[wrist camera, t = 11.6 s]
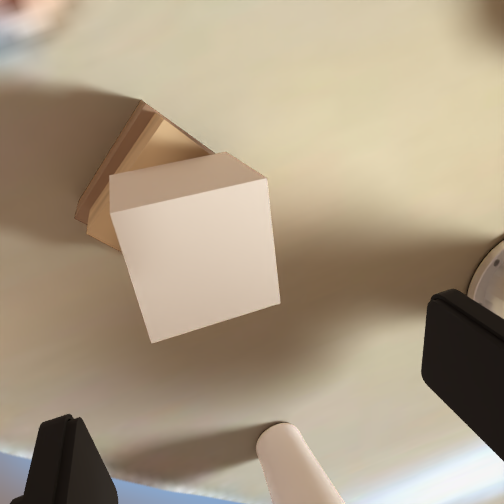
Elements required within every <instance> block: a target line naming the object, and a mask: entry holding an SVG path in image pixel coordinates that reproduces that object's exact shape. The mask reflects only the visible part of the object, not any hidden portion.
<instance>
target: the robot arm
mask: <svg viewBox="0 0 504 504" xmlns="http://www.w3.org/2000/svg"><path fill="white" fill-rule="evenodd" d="M421 374H422V378H423V380H424V381H425V383H426V384H427V385H428V386H429V387H430V388H431V389H432V390H433V391H434V392H435V393H436V394H437V395H438V396H439V397H440V398H441V399H442V400H443V401H444V402H445V403H446V404H447V405H448V406H449V407H450V408H451V409H452V410H453V411H454V412H455V413H456V414H457V415H458V416H459V417H460V418H461V419H462V420H463V421H464V422H465V423H466V424H467V425H468V426H469V427H470V428H471V429H472V430H473V431H474V432H475V433H476V434H477V435H478V436H479V437H480V438H481V439H482V440H483V441H484V442H485V443H486V444H487V445H488V446H489V447H490V448H491V449H492V450H493V451H494V452H495V453H496V454H497V455H498V456H499V457H500V458H501V459H502V460H503V461H504V240H503V241H502V242H500V243H499V244H498V245H497V246H496V247H495V248H494V249H492V250H491V251H490V253H489V254H488V255H487V256H486V257H485V258H484V260H483V261H482V262H481V264H480V265H479V267H478V268H477V270H476V272H475V274H474V276H473V278H472V280H471V283H470V286H469V290H468V294H467V296H466V295H465V294H463V293H461V292H460V291H458V290H456V289H450V290H447V291H444V292H441V293H438V294H435V295H433V296H432V297H431V301H430V302H429V303H428V306H427V315H426V326H425V337H424V347H423V358H422V369H421ZM10 504H118V496H117V491H116V488H115V485H114V483H113V481H112V479H111V477H110V475H109V473H108V471H107V469H106V467H105V465H104V463H103V461H102V459H101V457H100V454H99V452H98V450H97V448H96V446H95V444H94V442H93V440H92V438H91V436H90V434H89V432H88V430H87V428H86V426H85V424H84V422H83V420H82V418H80V417H79V418H76V419H74V418H73V417H72V415H70V414H67V415H64V416H61V417H58V418H55V419H52V420H48V421H45V422H42V424H41V425H40V428H39V431H38V435H37V440H36V444H35V448H34V452H33V457H32V461H31V465H30V470H29V474H28V478H27V482H26V487H25V491H24V495H22V496H20V497H17V498H15V499H13V500H12V502H11V503H10Z"/></svg>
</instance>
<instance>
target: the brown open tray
mask: <svg viewBox="0 0 504 504" xmlns="http://www.w3.org/2000/svg"><path fill="white" fill-rule="evenodd" d="M207 155H211V154H209V153H208V152H207V151H205V150H204V149H203V148H201V147H200V146H199V145H198V144H196V143H195V142H194V141H192V140H191V139H190V138H188V137H187V136H186V135H184V134H183V133H182V132H181V131H179V130H178V129H177V128H175V127H174V126H173V125H171V124H170V123H169V122H167V121H166V120H165V119H163V118H162V117H161V116H160V115H158V114H157V113H156V112H155V114H154V115H153V117H152V118H151V120H150V121H149V123H148V124H147V126H146V127H145V129H144V130H143V132H142V133H141V135H140V136H139V138H138V139H137V141H136V142H135V143H134V145H133V146H132V148H131V149H130V151H129V152H128V154H127V155H126V157H125V158H124V160H123V161H122V163H121V164H120V166H119V167H118V169H117V170H116V172H115V173H114V174H118V173H123V172H128V171H133V170H138V169H143V168H148V167H153V166H158V165H163V164H167V163H172V162H177V161H182V160H187V159H192V158H197V157H202V156H207ZM86 234H88V235H90V236H91V237H93V238H95V239H97V240H99V241H101V242H103V243H105V244H107V245H109V246H111V247H113V248H114V249H116V250H118V251H120V252H122V250H121V247H120V244H119V241H118V238H117V234H116V231H115V228H114V225H113V222H112V219H111V216H110V190H109V182H108V183H107V185H106V186H105V188H104V189H103V191H102V192H101V194H100V195H99V197H98V198H97V200H96V201H95V203H94V204H93V206H92V207H91V209H90V211H89V218H88V225H87V231H86Z"/></svg>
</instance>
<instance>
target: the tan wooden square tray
mask: <svg viewBox="0 0 504 504" xmlns="http://www.w3.org/2000/svg"><path fill="white" fill-rule="evenodd" d="M155 112H156V113H157V114H158V115H160V116H161V117H162V118H163V119H165V120H166V121H167V122H169V123H170V124H171V125H173V126H174V127H175V128H177V129H178V130H179V131H181V132H182V133H183V134H184V135H186V136H187V137H188V138H190V139H191V140H192V141H194V142H195V143H196V144H198V145H199V146H200V147H201V148H203V149H204V150H205V151H207V152H208V153H209V154H211V155H212V154H215V153H214V152H213V151H211V150H210V149H208V148H207V147H206V146H204V145H203V144H202V143H200V142H199V141H197V140H196V139H195V138H193V137H192V136H190V135H189V134H188V133H186V132H185V131H184V130H182V129H181V128H179V127H178V126H177V125H175V124H174V123H172V122H171V121H170V120H168V119H167V118H166V117H164V116H163V115H161V114H160V113H159V112H157V111H156V110H154V109H153V108H152V107H150V106H149V105H148V104H146V103H145V102H143V101H142V100H141V101H140V103H139V104H138V106H137V107H136V109H135V111H134V112H133V114H132V116H131V117H130V119H129V120H128V122H127V124H126V125H125V127H124V128H123V130H122V132H121V133H120V135H119V137H118V138H117V140H116V141H115V143H114V145H113V146H112V148H111V149H110V151H109V153H108V154H107V156H106V157H105V159H104V161H103V162H102V164H101V166H100V167H99V169H98V170H97V172H96V174H95V175H94V177H93V178H92V180H91V182H90V183H89V185H88V187H87V188H86V190H85V191H84V193H83V195H82V196H81V198H80V199H79V202H78V206H77V210H76V214H75V219H77V220H79V221H81V222H83V223H85V224H87V225H88V218H89V211H90V209H91V207H92V206H93V204H94V203H95V201H96V200H97V198H98V197H99V195H100V194H101V192H102V191H103V189H104V188H105V186H106V185H107V183H108V182H109V175H113V174H114V173H115V172H116V170H117V169H118V167H119V166H120V164H121V163H122V161H123V160H124V158H125V157H126V155H127V154H128V152H129V151H130V149H131V148H132V146H133V145H134V143H135V142H136V141H137V139H138V138H139V136H140V135H141V133H142V132H143V130H144V129H145V127H146V126H147V124H148V123H149V121H150V120H151V118H152V117H153V115H154V114H155Z"/></svg>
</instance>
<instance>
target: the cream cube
mask: <svg viewBox="0 0 504 504" xmlns="http://www.w3.org/2000/svg"><path fill="white" fill-rule="evenodd" d="M109 190H110V216H111V219H112V222H113V225H114V228H115V231H116V234H117V238H118V241H119V244H120V247H121V250H122V253H123V256H124V259H125V263H126V266H127V269H128V272H129V275H130V278H131V281H132V284H133V288H134V291H135V294H136V297H137V300H138V303H139V306H140V309H141V313H142V316H143V319H144V322H145V325H146V328H147V331H148V334H149V338H150V341H151V344H152V343H156V342H159V341H162V340H165V339H168V338H171V337H175V336H178V335H181V334H184V333H187V332H191V331H194V330H197V329H200V328H203V327H207V326H210V325H213V324H216V323H219V322H223V321H226V320H229V319H232V318H235V317H238V316H242V315H245V314H248V313H251V312H254V311H258V310H261V309H264V308H267V307H270V306H274V305H277V304H280V303H281V302H280V293H279V283H278V274H277V265H276V256H275V247H274V237H273V228H272V219H271V210H270V201H269V191H268V182H267V178H266V177H265V176H263V175H262V174H260V173H258V172H257V171H255V170H254V169H252V168H251V167H249V166H248V165H246V164H244V163H243V162H241V161H240V160H238V159H237V158H235V157H234V156H232V155H230V154H229V153H227V152H222V153H217V154H212V155H207V156H202V157H197V158H192V159H187V160H182V161H177V162H172V163H167V164H163V165H158V166H153V167H148V168H143V169H138V170H133V171H128V172H123V173H118V174H113V175H109Z"/></svg>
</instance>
